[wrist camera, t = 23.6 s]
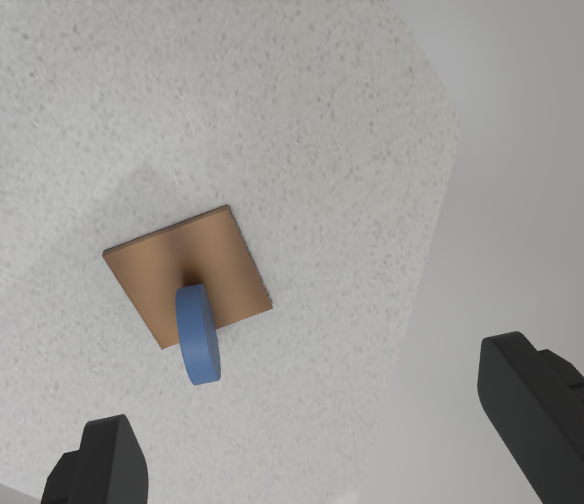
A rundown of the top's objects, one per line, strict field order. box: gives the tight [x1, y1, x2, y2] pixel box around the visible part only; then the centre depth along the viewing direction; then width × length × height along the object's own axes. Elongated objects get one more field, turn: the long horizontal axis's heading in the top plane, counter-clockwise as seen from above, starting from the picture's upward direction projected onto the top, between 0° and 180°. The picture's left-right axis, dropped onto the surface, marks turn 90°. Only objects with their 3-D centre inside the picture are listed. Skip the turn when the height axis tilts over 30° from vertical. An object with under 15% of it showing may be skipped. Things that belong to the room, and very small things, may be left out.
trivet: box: [102, 205, 273, 349], centre depth 44 cm, size 11×11×1 cm
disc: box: [175, 284, 221, 385], centre depth 42 cm, size 2×8×8 cm
